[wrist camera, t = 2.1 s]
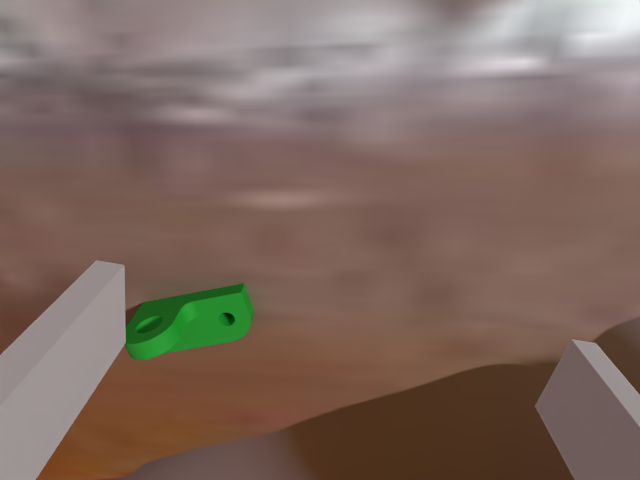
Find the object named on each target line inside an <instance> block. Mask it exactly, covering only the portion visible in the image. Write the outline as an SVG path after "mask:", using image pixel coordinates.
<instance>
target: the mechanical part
mask: <svg viewBox="0 0 640 480" xmlns="http://www.w3.org/2000/svg"><path fill="white" fill-rule="evenodd" d="M224 313H230V314H232V315H233V316H227V315H225V314H224ZM252 317H253V307H252V304H251V301H250V298H249V295H248V292H247V290H246V287H245V284H238V285H233V286H228V287H223V288H217V289H212V290H207V291H202V292H196V293H191V294H186V295H181V296H175V297H170V298H165V299H159V300H154V301H149V302H144V303H142V304H141V306H140V307H139V309H138V310H137V312H136V313H135V315H134V316H133V317H132V319H131V320H130V322H129V323H128V325H127V326H126V343H125V344H124V345H125V347H126V349H127V351H128V353H129V355H130V356H131V357H132V358H133V359H136V360H145V359H150V358H153V357H156V356H158V355H160V354H162V353H168V352H174V351H179V350H185V349H191V348H197V347H202V346H208V345H214V344H220V343H225V342H231V341H235V340H238V339H240V338H242V337H243V336H244V335H245V334H246V333H247V332H248V330H249V328H250V325H251V321H252Z"/></svg>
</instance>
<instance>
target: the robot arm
mask: <svg viewBox="0 0 640 480" xmlns="http://www.w3.org/2000/svg"><path fill="white" fill-rule="evenodd" d="M125 343H126V327H125V272H124V265H121V264H115V263H109V262H103V261H97V260H96V261H95V262H94V263H93V264H92V265H91V266H90V267H89V268H88V269H87V270H86V271H85V272H84V273H83V274H82V275H81V276H80V277H79V278H78V279H77V280H76V281H75V282H74V283H73V284H72V285H71V286H70V287H69V288H68V289H67V290H66V291H65V292H64V293H63V294H62V295H61V296H60V297H59V298H58V299H57V300H56V301H55V302H54V303H53V304H52V305H51V306H50V307H49V308H48V309H47V310H46V311H45V312H44V313H43V314H42V315H41V316H40V317H38V318H37V319H36V320H35V321H34V322H33V323H32V324H31V325H30V326H29V327H28V328H27V329H26V330H25V331H24V332H23V333H22V334H21V335H20V336H19V337H18V338H17V339H16V340H15V341H14V342H13V343H12V344H11V345H10V346H9V347H8V348H7V349H6V350H5V351H4V352H3V353H2V354H1V355H0V480H36V478H37V477H38V475H39V474H40V472H41V471H42V469H43V468H44V466H45V465H46V463H47V461H48V460H49V458H50V457H51V455H52V454H53V452H54V451H55V449H56V448H57V446H58V445H59V443H60V442H61V440H62V439H63V437H64V436H65V434H66V433H67V431H68V430H69V428H70V426H71V425H72V423H73V422H74V420H75V419H76V417H77V416H78V414H79V413H80V411H81V410H82V408H83V407H84V405H85V404H86V402H87V401H88V399H89V398H90V396H91V395H92V393H93V391H94V390H95V388H96V387H97V385H98V384H99V382H100V381H101V379H102V378H103V376H104V375H105V373H106V372H107V370H108V369H109V367H110V366H111V364H112V363H113V361H114V360H115V358H116V356H117V355H118V353H119V352H120V350H121V349H122V347H123V346H124V344H125ZM535 407H536V409H537V411H538V413H539V414H540V416H541V418H542V420H543V422H544V424H545V425H546V427H547V429H548V431H549V433H550V435H551V437H552V438H553V440H554V442H555V444H556V446H557V448H558V450H559V451H560V453H561V455H562V457H563V459H564V461H565V462H566V464H567V466H568V468H569V470H570V472H571V473H572V475H573V477H574V479H575V480H640V395H639V394H638V392H637V391H636V390H635V389H634V388H633V387H632V385H631V384H630V383H629V382H628V381H627V379H626V378H625V377H624V376H623V375H622V374H621V372H620V371H619V370H618V369H617V368H616V367H615V365H614V364H613V363H612V362H611V361H610V359H609V358H608V357H607V356H606V355H605V354H604V352H603V351H602V350H601V349H600V347H599V346H598V345H597V344H596V343H591V342H585V341H579V340H573V339H571V341H570V343H569V345H568V347H567V348H566V350H565V352H564V354H563V356H562V358H561V359H560V361H559V363H558V365H557V367H556V369H555V370H554V372H553V374H552V376H551V378H550V380H549V381H548V383H547V385H546V387H545V389H544V391H543V393H542V394H541V396H540V398H539V400H538V402H537V403H536V405H535Z"/></svg>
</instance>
